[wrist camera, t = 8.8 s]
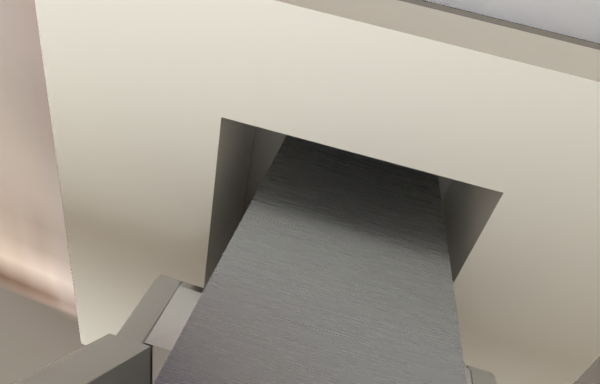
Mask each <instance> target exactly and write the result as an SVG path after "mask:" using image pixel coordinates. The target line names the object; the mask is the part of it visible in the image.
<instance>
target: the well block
mask: <svg viewBox="0 0 600 384" xmlns="http://www.w3.org/2000/svg"><path fill="white" fill-rule="evenodd" d="M35 6H36V14H37V21H38V28H39V36H40V43H41V51H42V58H43V65H44V73H45V80H46V87H47V95H48V102H49V109H50V117H51V124H52V131H53V139H54V146H55V154H56V161H57V168H58V176H59V183H60V190H61V198H62V205H63V212H64V220H65V227H66V234H67V242H68V249H69V256H70V264H71V271H72V279H73V286H74V293H75V301H76V308H77V315H78V323H79V329H80V337H81V343H82V344H85V345H87V344H89V343H91V342H93V341H95V340H97V339H99V338H101V337H103V336H105V335H107V334H109V333H110V334H113V335H117V333H118V332H119V330H120V329H121V328H122V326H123V325H124V323H125V322H126V320H127V319H128V317H129V316H130V314H131V313H132V312H133V310H134V309H135V307H136V306H137V304H138V303H139V301H140V300H141V299H142V297H143V296H144V294H145V293H146V291H147V290H148V288H149V287H150V285H151V284H152V283H153V281H154V280H155V279H156V278H157V277H159V276H160V275H164V276H167V277H170V278H173V279H176V280H180V281H183V282H187V283H190V284H193V285H196V286H199V287H202V288H205V287H206V285H207V283H208V281H209V279H210V278H211V276H212V274H213V272H214V270H215V268H216V266H217V265H218V263H219V261H220V259H221V257H222V255H223V253H224V251H225V250H226V248H227V246H228V244H229V242H230V240H231V238H232V237H233V235H234V233H235V231H236V229H237V227H238V225H239V223H240V222H241V220H242V218H243V216H244V214H245V212H246V210H247V209H248V207H249V205H250V203H251V201H252V199H253V197H254V195H255V194H256V192H257V190H258V188H259V186H260V184H261V182H262V181H263V179H264V177H265V175H266V173H267V171H268V169H269V167H270V166H271V164H272V162H273V160H274V158H275V156H276V154H277V153H278V151H279V149H280V147H281V145H282V143H283V141H284V139H285V138H286V136H287V135H290V136H293V137H297V138H301V139H305V140H308V141H312V142H316V143H320V144H323V145H327V146H331V147H334V148H338V149H342V150H346V151H349V152H353V153H357V154H361V155H364V156H368V157H372V158H375V159H379V160H383V161H387V162H390V163H394V164H398V165H402V166H405V167H409V168H413V169H416V170H420V171H424V172H428V173H431V174H435V175H438V180H439V188H440V195H441V202H442V209H443V216H444V223H445V230H446V237H447V245H448V252H449V259H450V266H451V273H452V280H453V287H454V294H455V302H456V309H457V316H458V323H459V330H460V337H461V344H462V351H463V358H464V364H465V365H468V366H471V367H475V368H478V369H481V370H485V371H488V372H492V373H493V375H494V376H495V378H496V382H497V384H574V383H575V382H576V381H577V380H578V379H579V378H580V377H581V376H582V375H583V373H584V372H585V371H586V370H587V369H588V368H589V367H590V366H591V365H592V364H593V363H594V362H595V361H596V360H597V359H598V358H599V357H600V44H598V43H594V42H590V41H586V40H582V39H578V38H574V37H570V36H565V35H561V34H557V33H553V32H549V31H545V30H541V29H537V28H533V27H529V26H525V25H521V24H517V23H513V22H509V21H505V20H501V19H496V18H492V17H488V16H484V15H480V14H476V13H472V12H468V11H464V10H460V9H456V8H452V7H448V6H444V5H440V4H436V3H432V2H427V1H423V0H35Z"/></svg>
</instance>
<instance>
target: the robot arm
mask: <svg viewBox="0 0 600 384" xmlns="http://www.w3.org/2000/svg"><path fill="white" fill-rule="evenodd" d="M204 289H205V288H202V287H199V286H196V285H193V284H190V283H187V282H183V281H180V280H176V279H173V278H170V277H167V276H164V275H160V276H159V277H157V278H156V279H155V280H154V281H153V283H152V284H151V285H150V287H149V288H148V290H147V291H146V293H145V294H144V296H143V297H142V299H141V300H140V301H139V303H138V304H137V306H136V307H135V309H134V310H133V312H132V313H131V314H130V316H129V317H128V319H127V320H126V322H125V323H124V325H123V326H122V328H121V329H120V330H119V332H118V333H117V335H113V334H110V333H109V334H107V335H105V336H103V337H101V338H99V339H97V340H95V341H93V342H91V343H89V344H87V345H86V346H84V347H82V348H80V349H78V350H76V351H74V352H72V353H70V354H68V355H66V356H64V357H63V358H60V359H58V360H57V361H55V362H53V363H51V364H49V365H47V366H45V367H43V368H41V369H39V370H37V371H35V372H33V373H31V374H29V375H27V376H25V377H24V378H22V379H20V380H18V381H16V382H14V383H12V384H154V382H155V380H156V378H157V377H158V375H159V373H160V371H161V369H162V367H163V365H164V363H165V362H166V360H167V358H168V356H169V354H170V352H171V350H172V349H173V347H174V345H175V343H176V341H177V339H178V337H179V335H180V334H181V332H182V330H183V328H184V326H185V324H186V322H187V321H188V319H189V317H190V315H191V313H192V311H193V309H194V307H195V306H196V304H197V302H198V300H199V298H200V296H201V294H202V293H203V291H204ZM464 366H465V373H466V380H467V384H497V382H496V378H495V376H494V375H493V373H492V372H488V371H485V370H481V369H478V368H475V367H471V366H468V365H465V364H464Z"/></svg>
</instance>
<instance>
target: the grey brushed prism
mask: <svg viewBox="0 0 600 384" xmlns="http://www.w3.org/2000/svg"><path fill="white" fill-rule="evenodd" d="M154 384H467V380H466V373H465V366H464V358H463V351H462V344H461V337H460V330H459V323H458V316H457V309H456V302H455V294H454V287H453V280H452V273H451V266H450V259H449V252H448V245H447V237H446V230H445V223H444V216H443V209H442V202H441V195H440V188H439V180H438V175H435V174H431V173H428V172H424V171H420V170H416V169H413V168H409V167H405V166H402V165H398V164H394V163H390V162H387V161H383V160H379V159H375V158H372V157H368V156H364V155H361V154H357V153H353V152H349V151H346V150H342V149H338V148H334V147H331V146H327V145H323V144H320V143H316V142H312V141H308V140H305V139H301V138H297V137H293V136H290V135H287V136H286V138H285V139H284V141H283V143H282V145H281V147H280V149H279V151H278V153H277V154H276V156H275V158H274V160H273V162H272V164H271V166H270V167H269V169H268V171H267V173H266V175H265V177H264V179H263V181H262V182H261V184H260V186H259V188H258V190H257V192H256V194H255V195H254V197H253V199H252V201H251V203H250V205H249V207H248V209H247V210H246V212H245V214H244V216H243V218H242V220H241V222H240V223H239V225H238V227H237V229H236V231H235V233H234V235H233V237H232V238H231V240H230V242H229V244H228V246H227V248H226V250H225V251H224V253H223V255H222V257H221V259H220V261H219V263H218V265H217V266H216V268H215V270H214V272H213V274H212V276H211V278H210V279H209V281H208V283H207V285H206V287H205V289H204V291H203V293H202V294H201V296H200V298H199V300H198V302H197V304H196V306H195V307H194V309H193V311H192V313H191V315H190V317H189V319H188V321H187V322H186V324H185V326H184V328H183V330H182V332H181V334H180V335H179V337H178V339H177V341H176V343H175V345H174V347H173V349H172V350H171V352H170V354H169V356H168V358H167V360H166V362H165V363H164V365H163V367H162V369H161V371H160V373H159V375H158V377H157V378H156V380H155V382H154Z"/></svg>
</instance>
